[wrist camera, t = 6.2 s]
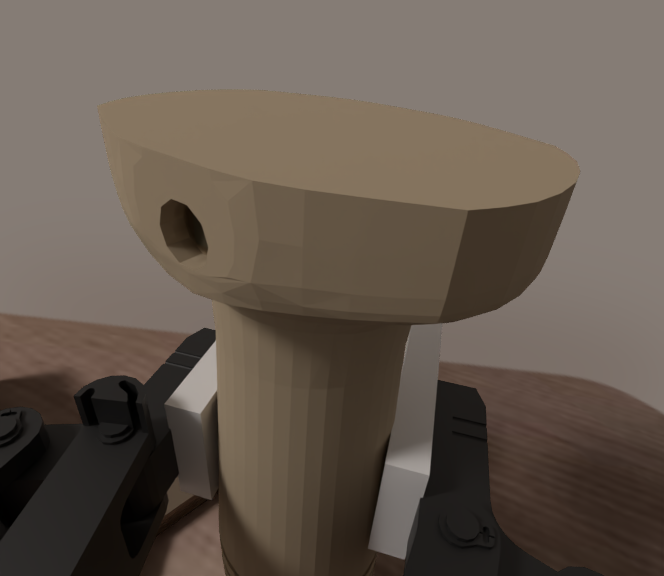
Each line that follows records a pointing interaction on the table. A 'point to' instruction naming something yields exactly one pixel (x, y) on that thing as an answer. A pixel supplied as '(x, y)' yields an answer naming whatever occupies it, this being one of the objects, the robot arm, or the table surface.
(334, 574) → the handle
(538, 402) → the table surface
